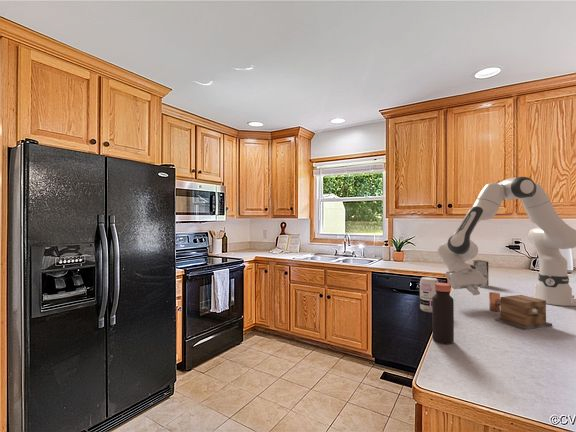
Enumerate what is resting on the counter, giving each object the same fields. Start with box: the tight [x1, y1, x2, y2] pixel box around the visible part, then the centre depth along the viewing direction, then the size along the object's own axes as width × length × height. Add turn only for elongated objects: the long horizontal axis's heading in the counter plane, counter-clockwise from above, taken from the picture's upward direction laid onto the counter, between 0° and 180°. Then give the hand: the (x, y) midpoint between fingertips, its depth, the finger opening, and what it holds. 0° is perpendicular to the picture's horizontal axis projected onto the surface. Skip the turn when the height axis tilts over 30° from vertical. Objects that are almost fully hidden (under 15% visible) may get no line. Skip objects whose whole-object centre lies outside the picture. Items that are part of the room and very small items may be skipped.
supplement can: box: [419, 276, 440, 313], centre depth 148 cm, size 8×8×15 cm
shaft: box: [488, 291, 538, 315], centre depth 135 cm, size 4×20×8 cm, turn 18°
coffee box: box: [472, 259, 489, 288], centre depth 203 cm, size 9×6×16 cm
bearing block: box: [494, 294, 553, 331], centre depth 130 cm, size 16×12×10 cm
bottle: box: [431, 282, 455, 345], centre depth 111 cm, size 7×7×20 cm
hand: (477, 294), depth 151 cm, fingers closed
